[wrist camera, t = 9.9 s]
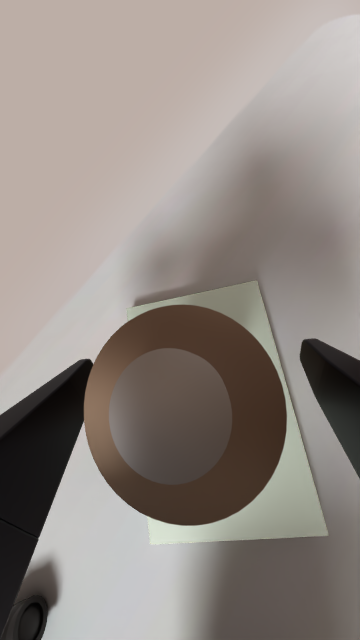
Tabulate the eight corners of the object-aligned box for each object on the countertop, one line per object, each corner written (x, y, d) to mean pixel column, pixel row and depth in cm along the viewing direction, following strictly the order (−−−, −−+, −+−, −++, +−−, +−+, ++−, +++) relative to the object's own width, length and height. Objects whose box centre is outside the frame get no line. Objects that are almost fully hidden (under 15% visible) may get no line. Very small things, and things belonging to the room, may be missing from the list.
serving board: (319, 521, 14) (328, 535, 13) (155, 531, 15) (150, 544, 14) (254, 285, 18) (257, 280, 17) (131, 311, 20) (126, 308, 19)
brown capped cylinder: (225, 421, 15) (261, 644, 3) (163, 395, 16) (17, 483, 4) (244, 356, 16) (334, 331, 4) (184, 335, 17) (109, 269, 5)
